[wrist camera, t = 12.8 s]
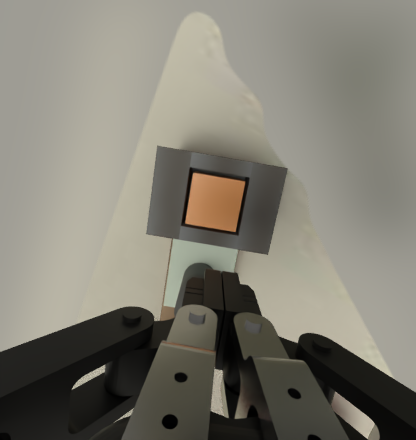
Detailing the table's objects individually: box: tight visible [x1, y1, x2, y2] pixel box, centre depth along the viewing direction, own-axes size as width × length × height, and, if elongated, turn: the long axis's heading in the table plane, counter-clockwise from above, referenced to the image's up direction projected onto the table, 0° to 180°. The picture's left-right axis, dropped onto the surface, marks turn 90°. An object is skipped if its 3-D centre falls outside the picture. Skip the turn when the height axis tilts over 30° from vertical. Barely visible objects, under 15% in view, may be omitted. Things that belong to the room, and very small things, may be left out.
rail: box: [146, 146, 288, 367], centre depth 29 cm, size 11×28×12 cm, turn 170°
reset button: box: [185, 171, 245, 232], centre depth 23 cm, size 4×4×3 cm
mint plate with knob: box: [163, 239, 238, 317], centre depth 28 cm, size 7×8×10 cm
